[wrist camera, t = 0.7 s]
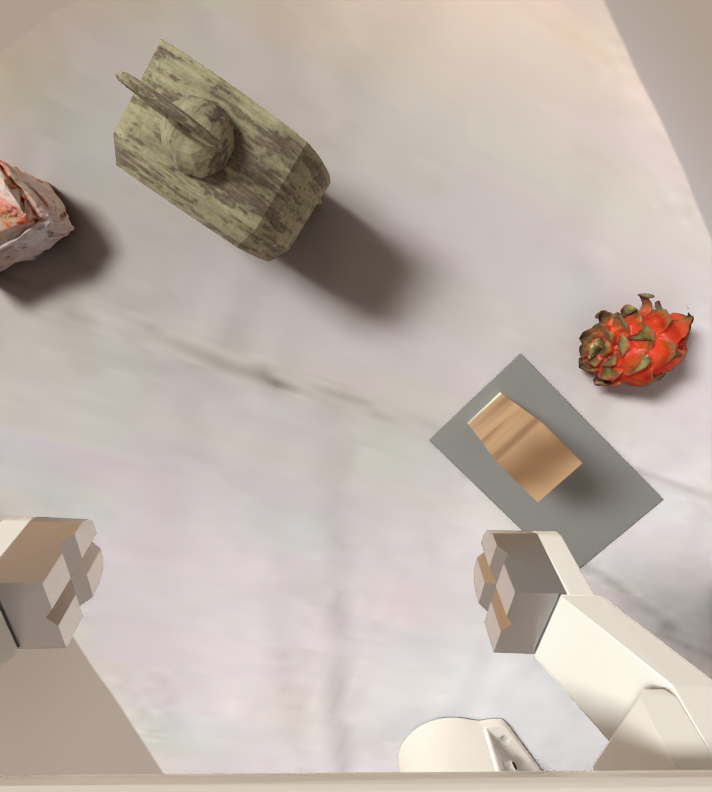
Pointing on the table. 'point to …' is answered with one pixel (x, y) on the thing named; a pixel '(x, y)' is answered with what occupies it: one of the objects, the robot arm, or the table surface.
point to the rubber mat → (573, 497)
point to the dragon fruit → (634, 344)
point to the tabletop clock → (218, 155)
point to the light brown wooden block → (523, 446)
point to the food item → (28, 216)
